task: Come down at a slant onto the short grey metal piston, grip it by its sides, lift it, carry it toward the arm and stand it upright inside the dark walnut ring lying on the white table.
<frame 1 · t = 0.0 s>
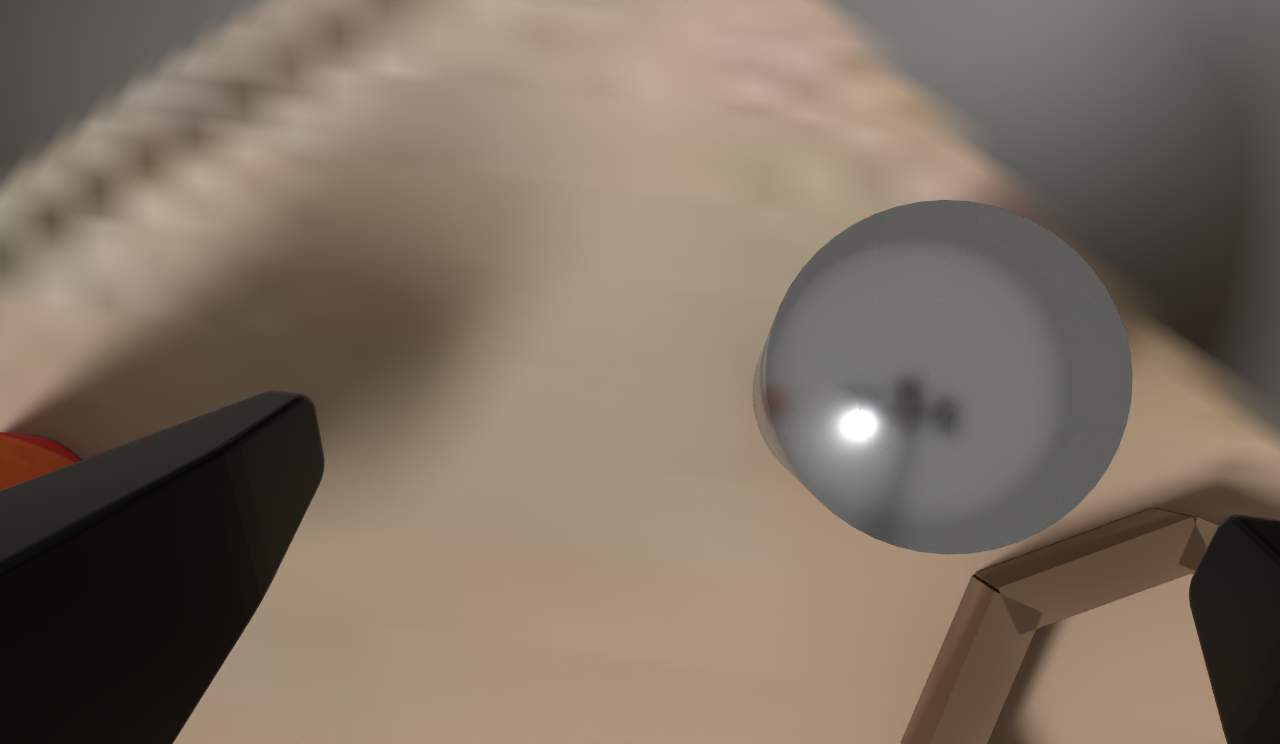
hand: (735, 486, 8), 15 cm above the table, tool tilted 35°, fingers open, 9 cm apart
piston: (854, 394, 23), on the table
paper cup: (26, 523, 26), on the table
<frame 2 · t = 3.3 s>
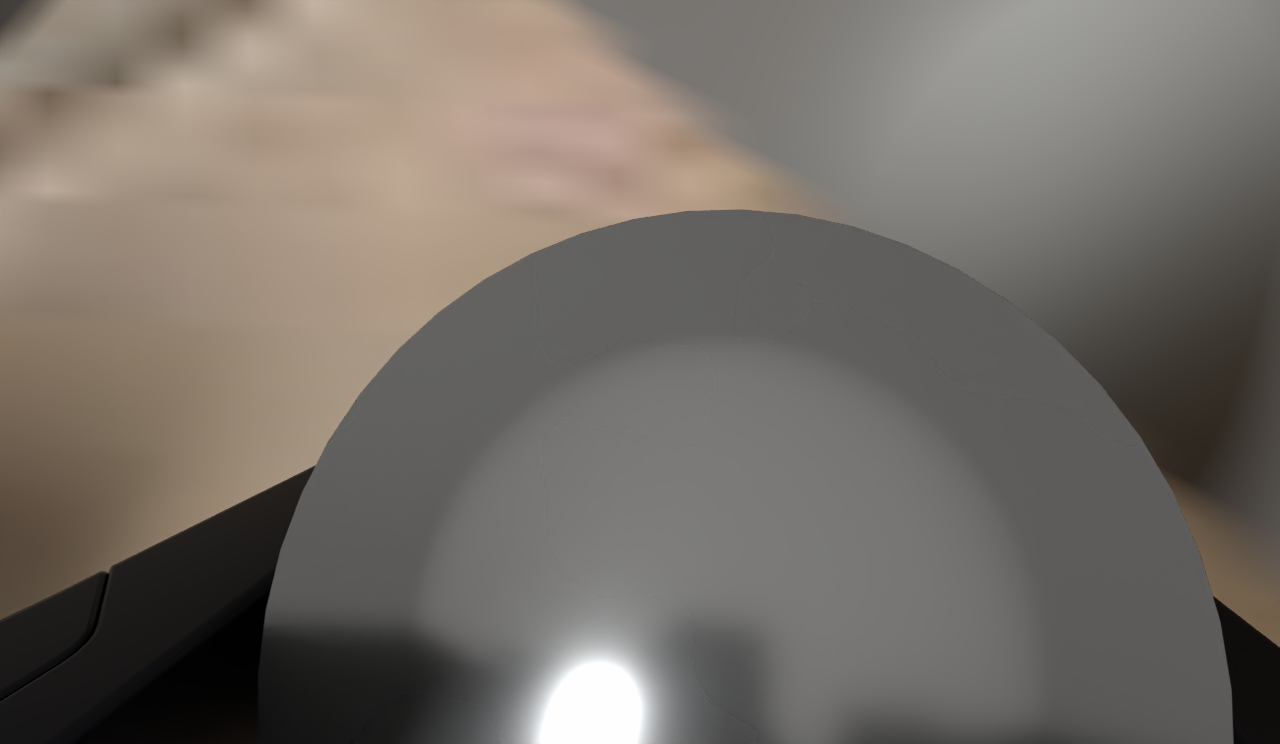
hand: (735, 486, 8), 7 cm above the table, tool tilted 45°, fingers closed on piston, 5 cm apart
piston: (716, 618, 14), on the table, touching gripper
when the fingers open (8 cm above the table, at t = 7.3 s): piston drops 1 cm, resting in bore ring.
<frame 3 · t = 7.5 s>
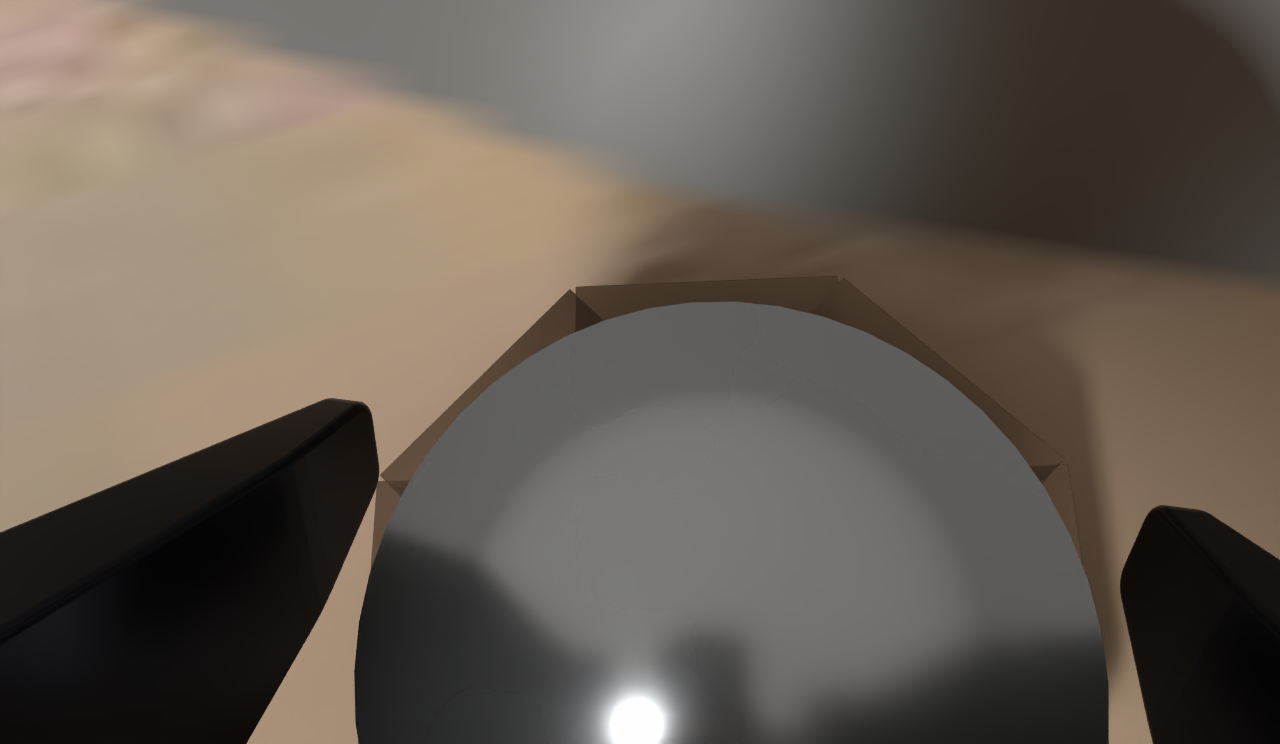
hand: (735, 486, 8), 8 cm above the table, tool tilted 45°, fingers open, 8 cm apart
bore ring: (716, 616, 16), on the table
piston: (713, 623, 16), resting in bore ring
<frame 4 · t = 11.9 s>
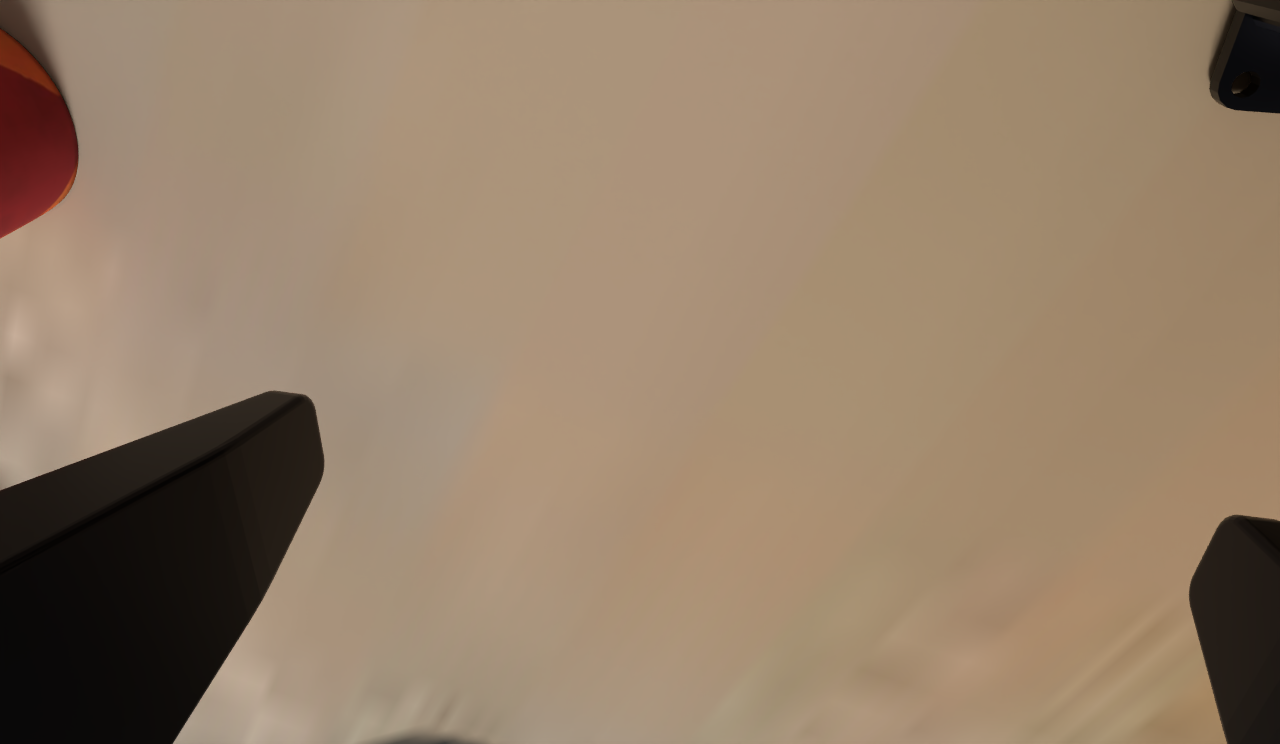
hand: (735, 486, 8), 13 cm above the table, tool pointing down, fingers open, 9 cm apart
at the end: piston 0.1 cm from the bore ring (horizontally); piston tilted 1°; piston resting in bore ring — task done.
